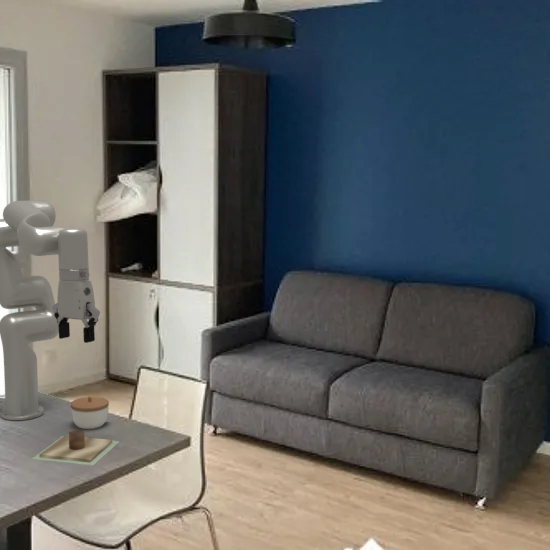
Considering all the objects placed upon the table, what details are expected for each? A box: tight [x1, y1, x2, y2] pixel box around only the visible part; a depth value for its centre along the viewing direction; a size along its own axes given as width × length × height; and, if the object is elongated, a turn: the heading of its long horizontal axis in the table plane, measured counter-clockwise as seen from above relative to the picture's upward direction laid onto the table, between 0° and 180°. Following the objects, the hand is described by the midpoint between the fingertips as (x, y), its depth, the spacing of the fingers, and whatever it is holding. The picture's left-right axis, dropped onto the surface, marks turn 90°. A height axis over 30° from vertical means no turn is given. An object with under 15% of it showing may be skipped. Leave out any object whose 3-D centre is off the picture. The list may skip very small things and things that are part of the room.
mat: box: [31, 435, 120, 466], centre depth 201 cm, size 17×17×1 cm
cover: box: [40, 429, 113, 462], centre depth 200 cm, size 14×14×5 cm
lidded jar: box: [70, 395, 110, 430], centre depth 219 cm, size 11×11×9 cm
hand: (76, 339), depth 199 cm, fingers open, 9 cm apart
